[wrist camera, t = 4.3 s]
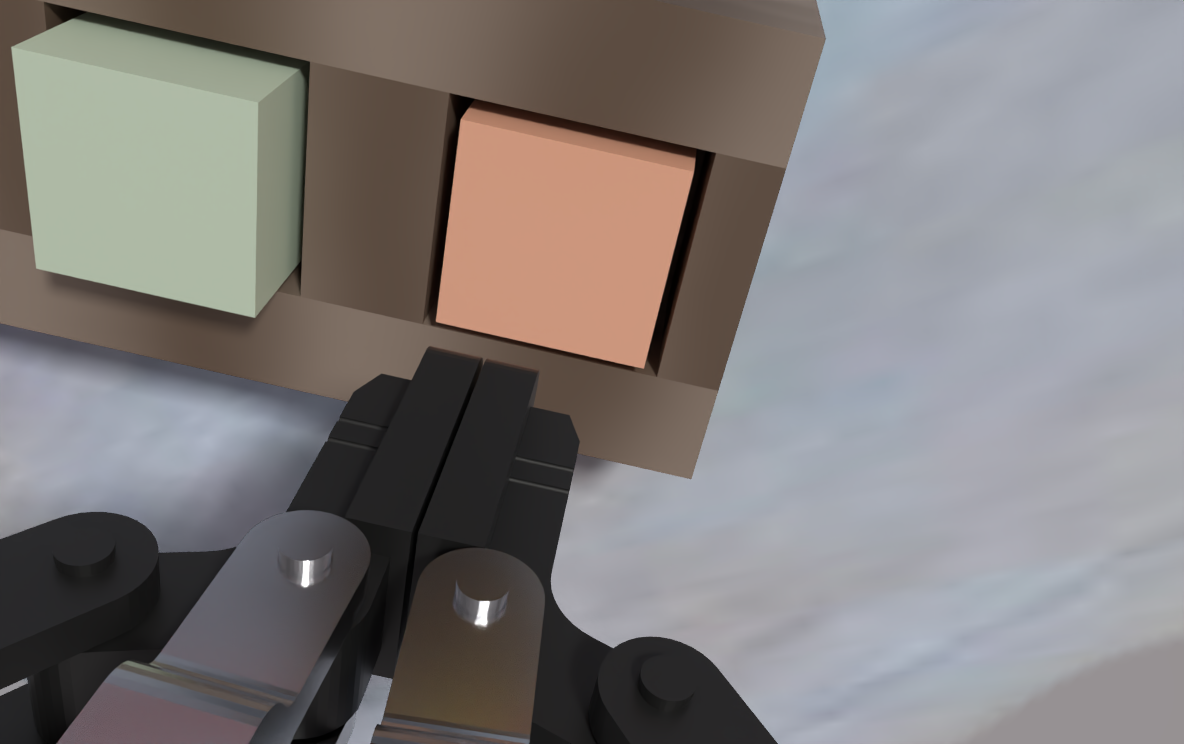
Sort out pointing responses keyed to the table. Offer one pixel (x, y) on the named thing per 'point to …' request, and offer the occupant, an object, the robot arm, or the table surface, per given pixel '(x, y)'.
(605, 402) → the button board
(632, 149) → the terracotta button
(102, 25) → the sage button
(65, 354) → the table surface
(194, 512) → the table surface
